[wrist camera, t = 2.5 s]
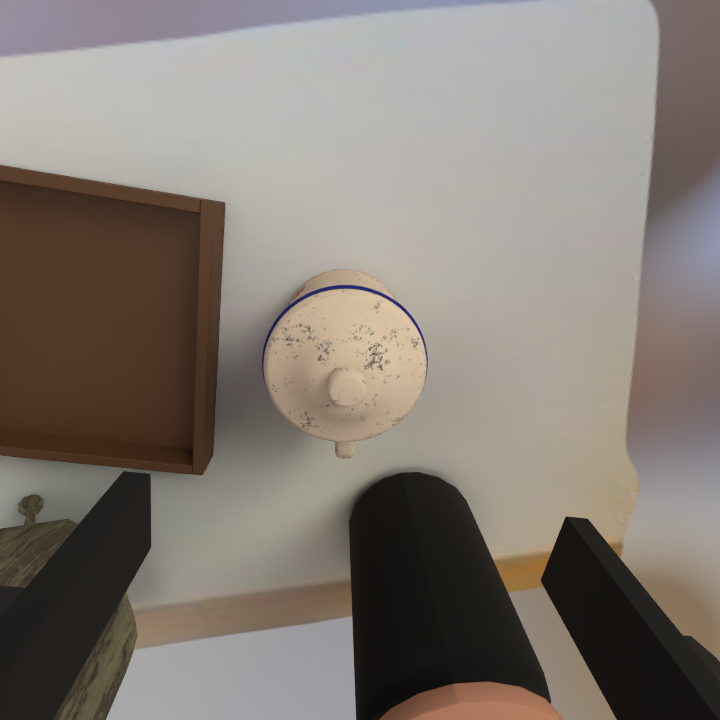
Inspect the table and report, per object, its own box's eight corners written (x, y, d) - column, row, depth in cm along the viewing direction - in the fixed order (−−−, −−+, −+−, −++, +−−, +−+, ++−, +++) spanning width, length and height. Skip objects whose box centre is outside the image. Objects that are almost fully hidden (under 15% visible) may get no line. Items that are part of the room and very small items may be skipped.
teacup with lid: (278, 264, 29) (243, 296, 18) (407, 265, 29) (449, 297, 18) (286, 417, 33) (261, 520, 22) (399, 416, 33) (430, 516, 22)
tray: (-19, 431, 32) (-51, 450, 29) (-64, 154, 25) (-110, 147, 23) (213, 455, 34) (202, 475, 31) (225, 202, 27) (213, 201, 25)
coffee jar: (359, 571, 39) (376, 850, 22) (338, 477, 35) (338, 724, 18) (471, 551, 38) (576, 817, 22) (461, 455, 35) (578, 683, 18)
